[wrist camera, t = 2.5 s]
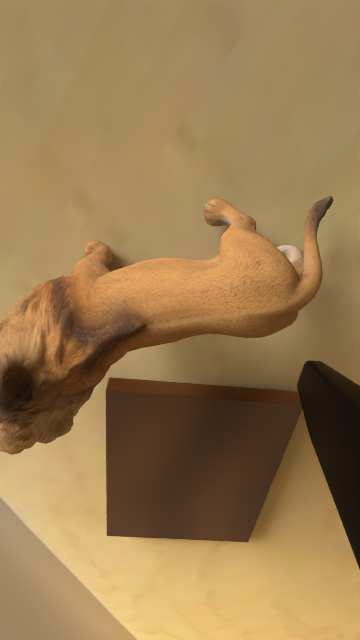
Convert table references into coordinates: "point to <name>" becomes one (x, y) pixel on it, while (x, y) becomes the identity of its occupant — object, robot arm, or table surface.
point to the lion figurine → (142, 316)
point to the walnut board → (192, 457)
